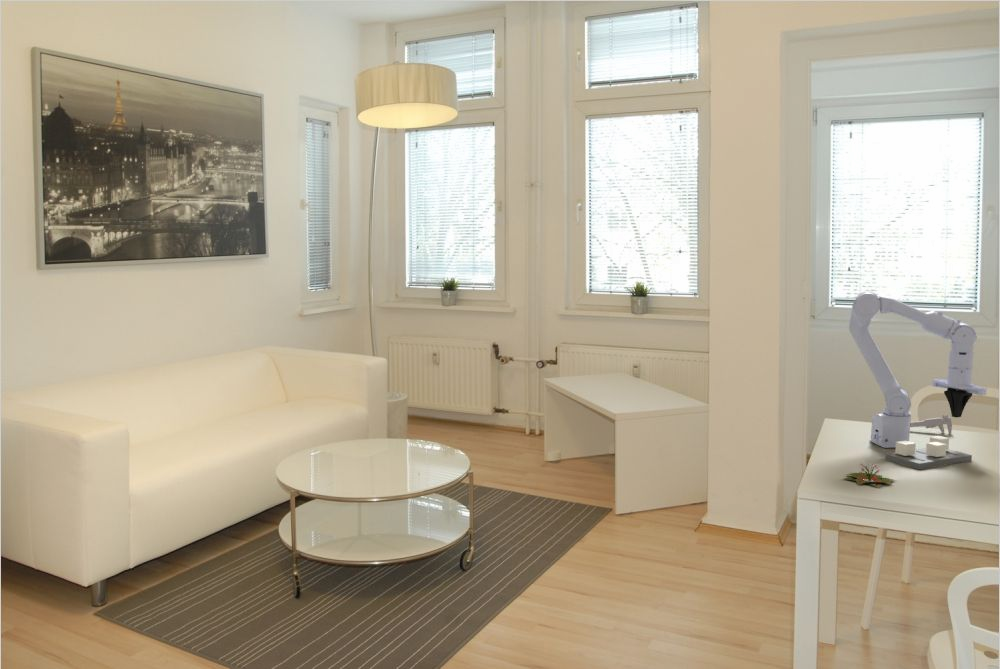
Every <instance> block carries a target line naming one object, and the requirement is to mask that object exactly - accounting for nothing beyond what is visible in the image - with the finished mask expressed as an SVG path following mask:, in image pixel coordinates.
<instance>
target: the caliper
mask: <svg viewBox="0 0 1000 669" xmlns="http://www.w3.org/2000/svg"><path fill="white" fill-rule="evenodd" d="M941 416H942V417H932V418H925V419H924V420H917V421H911V422H910V428H917V427H925V428H926V429H929V428H930V429H933V428H936V427H938V428H939V430H940V432H941V433H942V435H945V427H944V425H946V427H947V431H948V434H949V435H951V434H952V431H953V430H952V429H953V423H952V419H951V418H952V417H950V416H949V414H948V413H945V415H944V414H943V413H942V414H941Z"/></svg>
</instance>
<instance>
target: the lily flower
mask: <svg viewBox="0 0 1000 669" xmlns="http://www.w3.org/2000/svg"><path fill="white" fill-rule="evenodd" d="M860 463H861V464H860V466H862V467H863V468H861V471H859V472H851V473H848V474H845V475H847V476H846V477H844V480H847V481H854V482H856V485H857V486H858V485H862V484H866V485H871V486H873V487H875V488H877V489H879V488H881V486H882V485H883V483H884V484H885V485H889V486H891V487H893V486H894V485H893V484H892V483H891V482H895V481H897V480H895V479H892V478H890V477H883V475H880V474H877V473H879V472H880V470H881V469H879V468H878V469H876V471H875V472H874V470H875V468H877V466H878V464H875V465H874V463H872V464H871V468H870V469H869V467H870V466H869V463H867V464H868V466H866V465H865V464H864V463H863V462H860ZM873 465H874V466H873ZM863 479H864V480H863ZM870 482H874V483H875V484H871V483H870Z"/></svg>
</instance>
